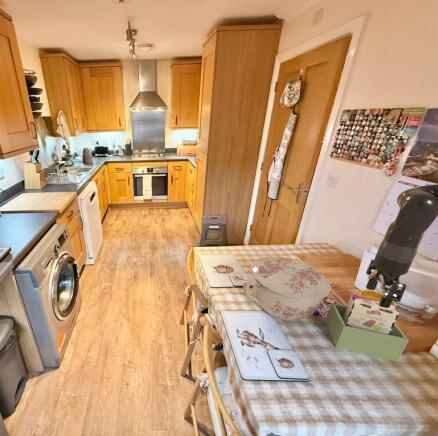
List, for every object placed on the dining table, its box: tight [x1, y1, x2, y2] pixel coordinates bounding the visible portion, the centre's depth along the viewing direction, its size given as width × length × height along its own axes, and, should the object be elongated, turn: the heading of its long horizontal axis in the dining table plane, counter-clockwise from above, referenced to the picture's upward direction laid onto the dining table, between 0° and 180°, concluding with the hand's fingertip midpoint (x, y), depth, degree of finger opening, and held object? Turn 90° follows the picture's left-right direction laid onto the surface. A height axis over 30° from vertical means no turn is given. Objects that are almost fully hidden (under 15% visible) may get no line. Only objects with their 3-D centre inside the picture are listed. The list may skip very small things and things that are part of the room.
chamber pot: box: [242, 256, 332, 322], centre depth 94 cm, size 28×28×21 cm
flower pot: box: [357, 289, 397, 309], centre depth 89 cm, size 10×10×10 cm
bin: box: [324, 302, 410, 363], centre depth 81 cm, size 17×12×10 cm
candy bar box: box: [343, 294, 400, 335], centre depth 79 cm, size 11×5×16 cm, turn 59°
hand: (376, 297), depth 75 cm, fingers open, 8 cm apart
